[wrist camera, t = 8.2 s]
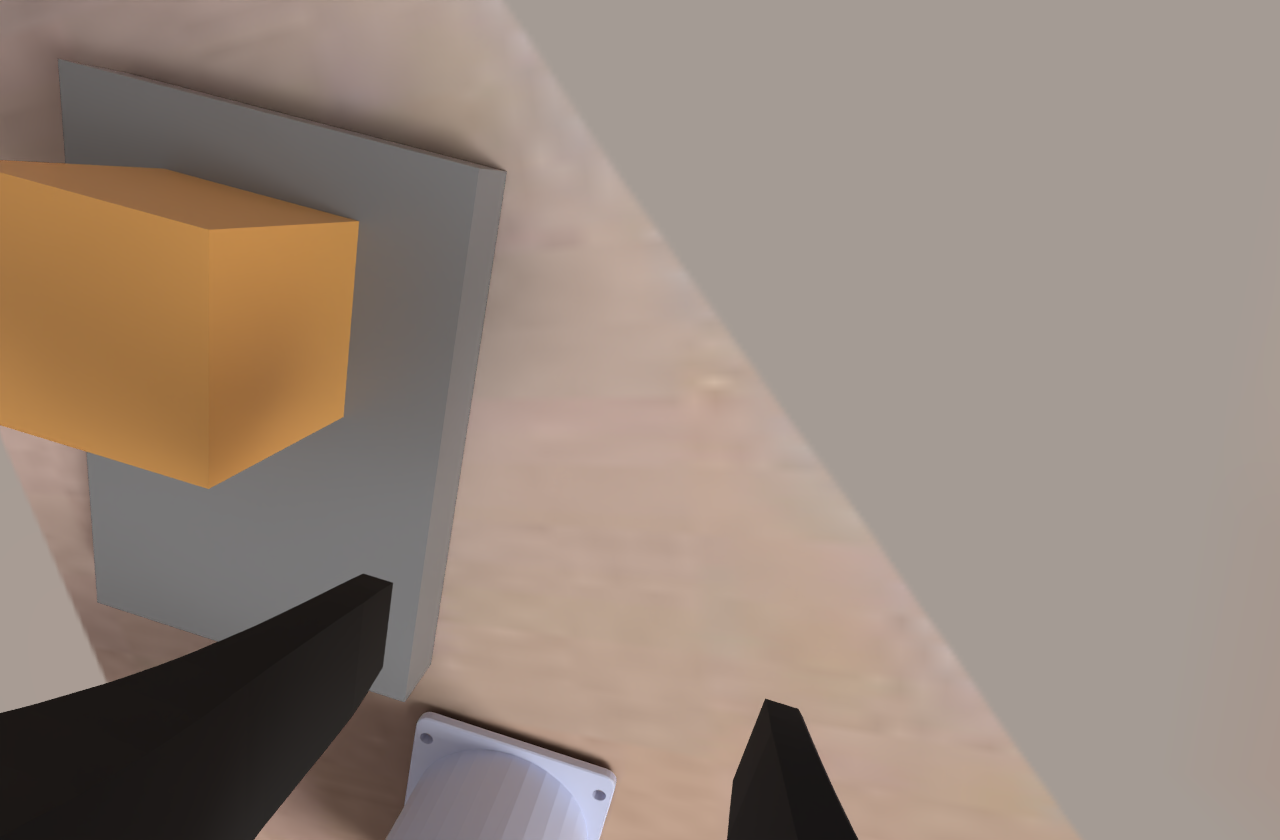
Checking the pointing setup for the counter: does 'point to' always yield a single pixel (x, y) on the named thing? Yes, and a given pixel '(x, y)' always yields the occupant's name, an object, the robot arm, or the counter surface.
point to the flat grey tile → (375, 387)
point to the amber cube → (169, 316)
